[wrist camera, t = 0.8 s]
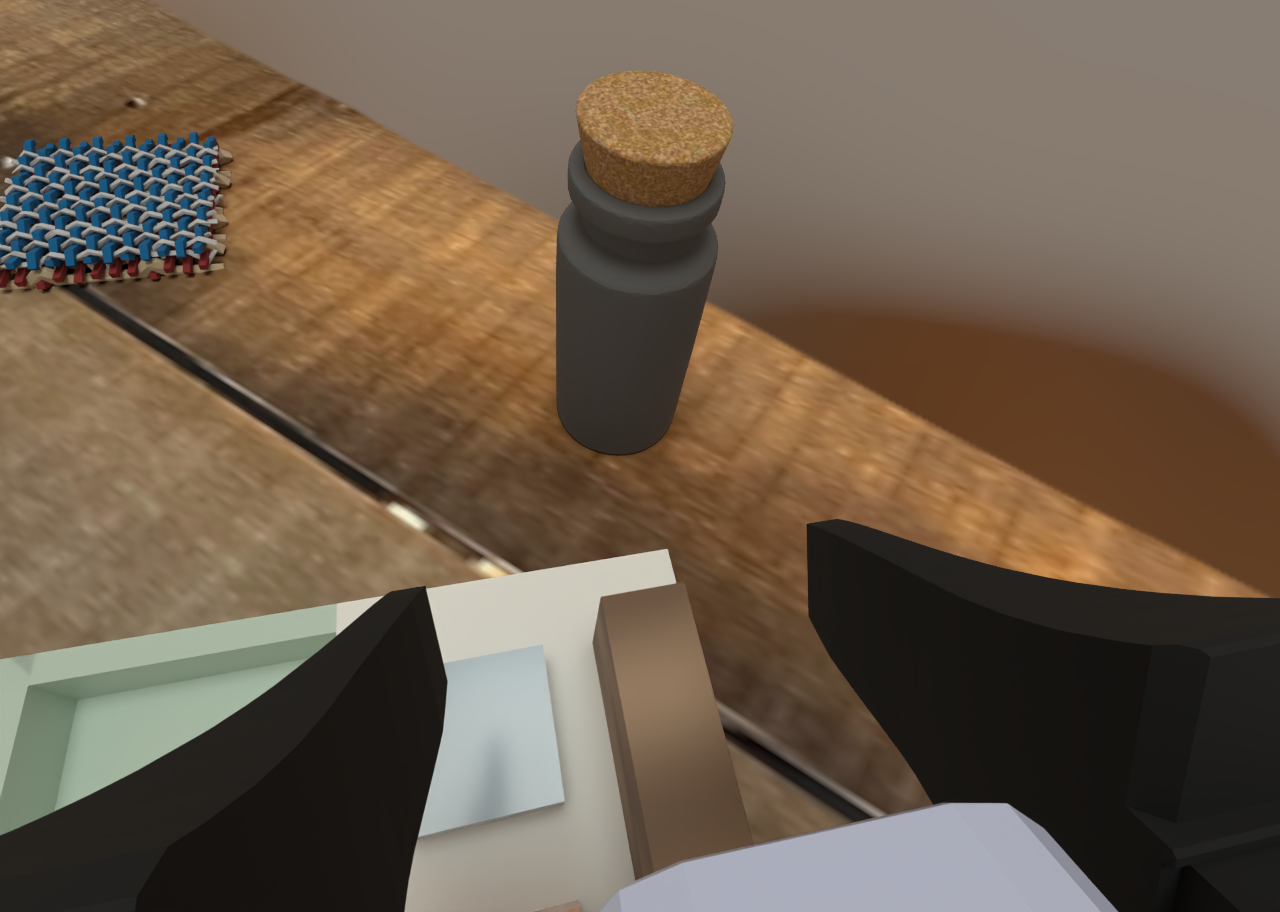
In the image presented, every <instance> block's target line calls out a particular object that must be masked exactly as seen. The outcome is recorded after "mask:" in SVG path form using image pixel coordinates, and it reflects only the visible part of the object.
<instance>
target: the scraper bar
mask: <svg viewBox="0 0 1280 912" xmlns="http://www.w3.org/2000/svg"><path fill="white" fill-rule="evenodd" d="M592 644H593V649H594V655H595V660H596V666H597V671H598V677H599V682H600V688H601V693H602V699H603V704H604V710H605V716H606V721H607V727H608V732H609V738H610V743H611V749H612V754H613V760H614V765H615V771H616V776H617V782H618V787H619V793H620V799H621V804H622V810H623V815H624V821H625V826H626V832H627V837H628V843H629V848H630V854H631V859H632V865H633V870H634V876H635V881H636V880H638V879H640V878H643V877H645V876H647V875H650V874H652V873H654V872H656V871H659V870H661V869H663V868H666V867H668V866H670V865H672V864H675V863H677V862H679V861H682V860H687V859H692V858H696V857H701V856H705V855H710V854H714V853H719V852H723V851H728V850H732V849H737V848H741V847H746V846H750V845H753V841H752V837H751V833H750V829H749V826H748V822H747V818H746V814H745V811H744V807H743V803H742V799H741V795H740V792H739V788H738V784H737V780H736V776H735V773H734V769H733V765H732V761H731V758H730V754H729V750H728V746H727V742H726V739H725V735H724V731H723V727H722V723H721V720H720V716H719V712H718V708H717V704H716V701H715V697H714V693H713V689H712V686H711V682H710V678H709V674H708V670H707V667H706V663H705V659H704V655H703V651H702V648H701V644H700V640H699V636H698V632H697V629H696V625H695V621H694V617H693V614H692V610H691V606H690V602H689V598H688V595H687V591H686V587H685V583H684V582H681V583H675V584H670V585H664V586H659V587H653V588H647V589H642V590H636V591H630V592H625V593H619V594H614V595H608V596H602V597H601V598H600V604H599V609H598V615H597V620H596V625H595V631H594V636H593V642H592Z"/></svg>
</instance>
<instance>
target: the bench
mask: <svg viewBox="0 0 1280 912" xmlns="http://www.w3.org/2000/svg"><path fill="white" fill-rule="evenodd" d="M675 583H676V580H675V576H674V573H673V569H672V565H671V561H670V557H669V553H668V549H664V550H658V551H652V552H646V553H640V554H634V555H628V556H622V557H616V558H610V559H604V560H598V561H592V562H586V563H580V564H574V565H568V566H562V567H556V568H550V569H543V570H537V571H531V572H525V573H519V574H513V575H507V576H501V577H495V578H489V579H483V580H477V581H471V582H465V583H459V584H453V585H447V586H441V587H435V588H429V589H426V591H427V595H428V599H429V603H430V608H431V612H432V616H433V620H434V625H435V629H436V633H437V638H438V642H439V646H440V650H441V655H442V659H443V663H447V662H453V661H458V660H463V659H468V658H474V657H479V656H484V655H489V654H495V653H500V652H505V651H511V650H516V649H521V648H526V647H532V646H537V645H542V644H543V650H544V657H545V664H546V671H547V678H548V685H549V692H550V699H551V706H552V713H553V720H554V727H555V734H556V741H557V748H558V755H559V762H560V769H561V776H562V783H563V791H564V798H565V803H564V805H560V806H556V807H552V808H548V809H543V810H539V811H535V812H531V813H527V814H523V815H519V816H515V817H511V818H506V819H502V820H498V821H494V822H490V823H486V824H482V825H478V826H474V827H470V828H465V829H461V830H457V831H453V832H449V833H445V834H441V835H437V836H433V837H428V838H424V839H420V840H417V843H416V847H415V852H414V857H413V862H412V867H411V872H410V877H409V882H408V889H407V897H406V904H405V912H535V911H539V910H542V909H546V908H549V907H553V906H557V905H560V904H564V903H568V902H571V901H575V900H578V902H579V905H580V910H581V912H600V911H601V910H602V909H603V907H604V906H605V905H606V904H607V903H608V902H609V901H610V900H611V899H612V898H613V897H614V895H615V894H616V893H617V892H618V891H619V890H620V889H621V888H622V887H624V886H625V885H627V884H629V883H631V882H633V881H635V876H634V870H633V865H632V859H631V854H630V848H629V843H628V837H627V832H626V826H625V821H624V815H623V810H622V804H621V799H620V793H619V787H618V782H617V776H616V771H615V765H614V760H613V754H612V749H611V743H610V738H609V732H608V727H607V721H606V716H605V710H604V704H603V699H602V693H601V688H600V682H599V677H598V671H597V666H596V660H595V655H594V649H593V644H592V642H593V636H594V631H595V625H596V620H597V615H598V609H599V604H600V598H601V597H602V596H608V595H614V594H619V593H625V592H630V591H636V590H642V589H647V588H653V587H659V586H664V585H670V584H675ZM382 597H383V596H380V597H374V598H368V599H362V600H356V601H350V602H344V603H338V604H337V622H336V636H337V635H338V634H339V633H340V632H342V631H343V630H344V629H345V628H346V627H347V626H349V625H350V624H351V623H352V622H353V621H354V620H356V619H357V618H358V617H359V616H360V615H361V614H363V613H364V612H365V611H366V610H367V609H368V608H370V607H371V606H372V605H373V604H375V603H376V602H377V601H378V600H380V599H381V598H382Z"/></svg>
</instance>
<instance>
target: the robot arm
mask: <svg viewBox="0 0 1280 912" xmlns="http://www.w3.org/2000/svg"><path fill="white" fill-rule="evenodd" d="M807 561H808V609H809V618H810V620H811V622H812V624H813V626H814V628H815V630H816V632H817V634H818V635H819V637H820V639H821V641H822V643H823V645H824V647H825V648H826V650H827V652H828V654H829V656H830V657H831V659H832V660H833V662H834V663H835V665H836V666H837V667H838V669H839V670H840V672H841V673H842V674H843V676H844V677H845V678H846V680H847V681H848V682H849V684H850V685H851V687H852V688H853V689H854V691H855V692H856V693H857V695H858V696H859V697H860V699H861V700H862V701H863V703H864V704H865V705H866V707H867V708H868V709H869V711H870V712H871V713H872V715H873V716H874V717H875V719H876V720H877V721H878V723H879V724H880V726H881V727H882V728H883V730H884V731H885V732H886V734H887V735H888V736H889V738H890V739H891V740H892V742H893V743H894V744H895V746H896V747H897V748H898V750H899V751H900V752H901V754H902V755H903V757H904V758H905V760H906V761H907V763H908V764H909V766H910V767H911V769H912V770H913V772H914V773H915V775H916V776H917V778H918V780H919V781H920V783H921V785H922V786H923V788H924V790H925V791H926V793H927V795H928V797H929V798H930V800H931V802H932V803H933V805H931V806H926V807H922V808H917V809H913V810H908V811H904V812H899V813H895V814H890V815H886V816H881V817H877V818H872V819H868V820H863V821H859V822H854V823H849V824H845V825H840V826H836V827H831V828H827V829H822V830H818V831H813V832H809V833H804V834H800V835H795V836H791V837H786V838H782V839H777V840H773V841H768V842H764V843H759V844H755V845H750V846H746V847H741V848H737V849H732V850H728V851H723V852H719V853H714V854H710V855H705V856H701V857H696V858H692V859H687V860H682V861H679V862H677V863H675V864H672V865H670V866H668V867H666V868H663V869H661V870H659V871H656V872H654V873H652V874H650V875H647V876H645V877H643V878H640V879H638V880H636V881H633V882H631V883H629V884H627V885H625V886H624V887H622V888H621V889H620V890H619V891H618V892H617V893H616V894H615V895H614V897H613V898H612V899H611V900H610V901H609V902H608V903H607V904H606V905H605V906H604V907H603V909H602V910H601V911H600V912H1280V598H1241V597H1210V596H1196V595H1182V594H1169V593H1156V592H1146V591H1136V590H1127V589H1119V588H1111V587H1104V586H1097V585H1090V584H1083V583H1076V582H1070V581H1064V580H1058V579H1052V578H1047V577H1042V576H1038V575H1033V574H1028V573H1023V572H1019V571H1014V570H1009V569H1005V568H1001V567H997V566H993V565H989V564H985V563H981V562H978V561H974V560H971V559H967V558H963V557H960V556H956V555H953V554H950V553H946V552H943V551H940V550H937V549H933V548H930V547H927V546H924V545H921V544H918V543H915V542H912V541H909V540H906V539H903V538H900V537H897V536H894V535H891V534H888V533H885V532H882V531H879V530H876V529H873V528H870V527H867V526H863V525H860V524H857V523H853V522H849V521H845V520H840V519H834V520H828V521H822V522H815V523H809V524H807ZM447 684H448V680H447V676H446V672H445V668H444V663H443V659H442V655H441V650H440V646H439V642H438V638H437V633H436V629H435V625H434V620H433V616H432V612H431V608H430V603H429V599H428V595H427V591H426V586H422V587H416V588H410V589H404V590H397V591H391V592H389V593H388V594H386V595H385V596H383V597H382V598H381V599H380V600H378V601H377V602H376V603H375V604H373V605H372V606H371V607H370V608H368V609H367V610H366V611H365V612H364V613H363V614H361V615H360V616H359V617H358V618H357V619H356V620H354V621H353V622H352V623H351V624H350V625H349V626H347V627H346V628H345V629H344V630H343V631H342V632H340V633H339V634H338V635H337V636H336V637H334V638H333V639H332V640H331V641H330V642H329V643H327V644H326V645H325V646H324V647H323V648H321V649H320V650H319V651H318V652H316V653H315V654H314V655H313V656H311V657H310V658H309V659H307V660H306V661H305V662H304V663H302V664H301V665H300V666H299V667H297V668H296V669H295V670H293V671H292V672H291V673H290V674H288V675H287V676H286V677H284V678H283V679H282V680H281V681H279V682H278V683H277V684H275V685H274V686H273V687H271V688H270V689H269V690H267V691H266V692H264V693H263V694H262V695H260V696H259V697H257V698H256V699H254V700H253V701H252V702H250V703H249V704H247V705H246V706H244V707H243V708H241V709H240V710H238V711H237V712H235V713H234V714H232V715H230V716H229V717H227V718H226V719H224V720H223V721H221V722H220V723H218V724H217V725H215V726H214V727H212V728H210V729H209V730H207V731H205V732H204V733H202V734H200V735H199V736H197V737H195V738H193V739H192V740H190V741H188V742H186V743H185V744H183V745H181V746H179V747H178V748H176V749H174V750H172V751H171V752H169V753H167V754H165V755H163V756H162V757H160V758H158V759H156V760H155V761H153V762H151V763H149V764H148V765H146V766H144V767H142V768H141V769H139V770H137V771H135V772H133V773H131V774H129V775H127V776H126V777H124V778H122V779H120V780H118V781H116V782H114V783H112V784H110V785H108V786H106V787H104V788H102V789H100V790H98V791H96V792H94V793H92V794H90V795H88V796H86V797H84V798H81V799H79V800H77V801H75V802H73V803H71V804H69V805H67V806H65V807H63V808H60V809H58V810H56V811H54V812H52V813H50V814H48V815H46V816H43V817H41V818H39V819H37V820H34V821H32V822H30V823H28V824H26V825H23V826H21V827H19V828H17V829H14V830H12V831H10V832H7V833H5V834H2V835H0V912H405V904H406V897H407V889H408V882H409V877H410V872H411V867H412V862H413V857H414V852H415V847H416V843H417V839H418V835H419V831H420V827H421V823H422V818H423V814H424V810H425V806H426V802H427V798H428V794H429V790H430V785H431V781H432V777H433V773H434V769H435V764H436V760H437V756H438V752H439V747H440V743H441V738H442V734H443V727H444V718H445V708H446V696H447Z"/></svg>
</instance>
